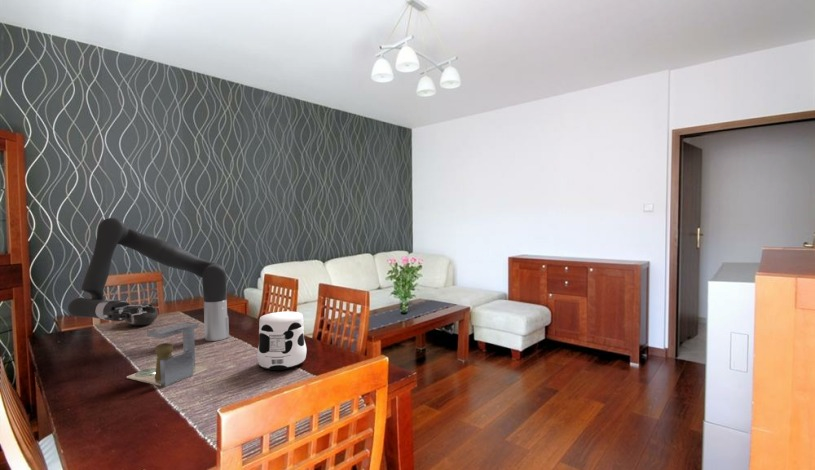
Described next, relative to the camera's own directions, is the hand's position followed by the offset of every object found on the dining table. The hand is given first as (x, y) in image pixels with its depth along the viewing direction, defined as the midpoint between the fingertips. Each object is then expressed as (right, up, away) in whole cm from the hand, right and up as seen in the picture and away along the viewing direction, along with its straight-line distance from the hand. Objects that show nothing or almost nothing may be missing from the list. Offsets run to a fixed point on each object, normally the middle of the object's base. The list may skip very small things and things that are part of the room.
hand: (142, 312), depth 142 cm
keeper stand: (+11, -20, -3) cm, 23 cm away
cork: (+12, -20, -7) cm, 25 cm away
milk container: (+49, -20, +4) cm, 53 cm away
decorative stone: (-42, -18, +61) cm, 76 cm away
